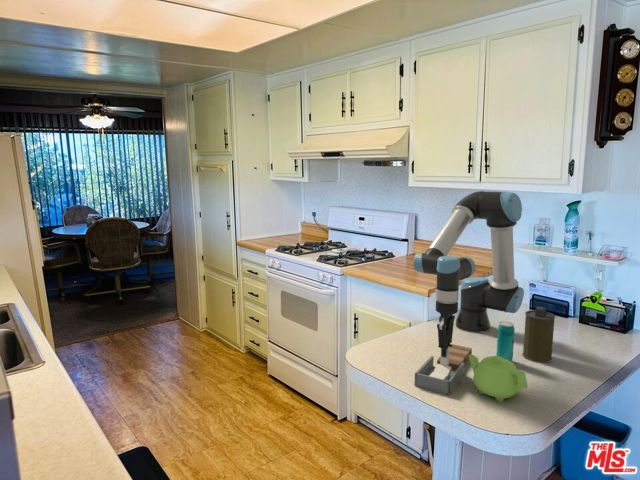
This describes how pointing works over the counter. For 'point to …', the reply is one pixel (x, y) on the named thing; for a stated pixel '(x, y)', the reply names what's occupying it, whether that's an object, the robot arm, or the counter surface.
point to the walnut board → (457, 356)
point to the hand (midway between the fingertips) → (444, 364)
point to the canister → (538, 335)
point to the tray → (435, 383)
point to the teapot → (497, 377)
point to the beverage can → (505, 340)
